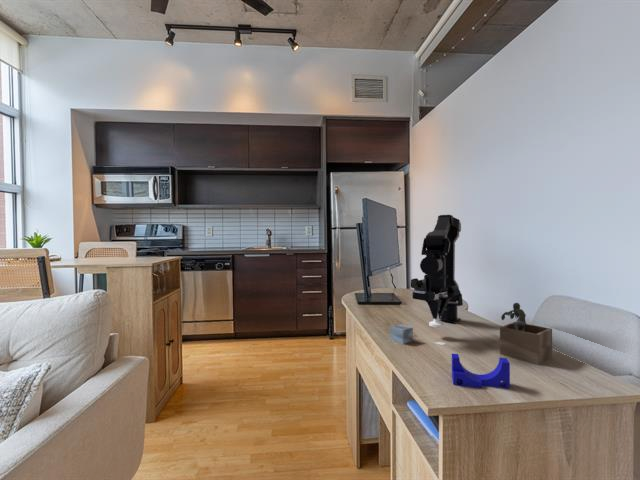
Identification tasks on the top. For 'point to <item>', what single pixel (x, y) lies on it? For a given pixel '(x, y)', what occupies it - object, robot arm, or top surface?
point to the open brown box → (526, 343)
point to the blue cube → (402, 334)
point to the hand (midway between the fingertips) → (436, 318)
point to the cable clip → (475, 380)
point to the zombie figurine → (517, 313)
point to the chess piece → (436, 322)
